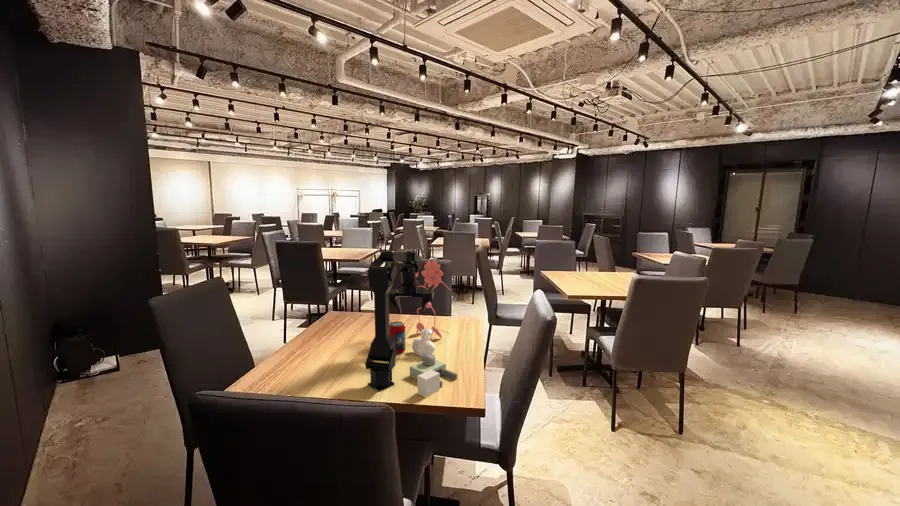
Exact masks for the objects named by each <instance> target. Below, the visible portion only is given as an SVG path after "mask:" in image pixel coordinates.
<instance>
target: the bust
mask: <svg viewBox="0 0 900 506" xmlns="http://www.w3.org/2000/svg"><path fill="white" fill-rule="evenodd" d="M432 331H433V329H432V328H429V329H424V330H422V329H421V332H419V335H420V337H416V338H414V339H413V341H412V344H411V348H412V351H413V352H414V353H415V354H416V356H419V357H421V358H423V355H425V354H433V353H434V352H435V350H436V346H435V344H434V342H433V341H430V337H433V335H432Z"/></svg>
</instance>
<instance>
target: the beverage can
mask: <svg viewBox="0 0 900 506" xmlns="http://www.w3.org/2000/svg"><path fill="white" fill-rule="evenodd" d="M389 323H390V335H391V337H394V338H395V347H396V355H400V354H402V353H404V352H405V351H406V326H405V324H404V322H403V321H398V320H397V321H393V322H389Z"/></svg>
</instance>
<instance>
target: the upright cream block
mask: <svg viewBox="0 0 900 506" xmlns="http://www.w3.org/2000/svg"><path fill="white" fill-rule="evenodd" d="M440 380H441V376H440V373H438V372H436V371H433V370H429V371H427V372H425V373H422V374H420V375H418V379H417V394H418V393H419V394H418V395H420V394H421V396H422V395H424V396H426V397H427V396H429V395H431V394H433V393H434V394H436V393H438V392H439V390H441V388H440ZM435 392H436V393H435ZM434 394H433V395H434ZM424 396H423V397H424ZM431 396H432V395H431ZM426 397H425V398H426ZM429 397H430V396H429ZM427 398H428V397H427Z"/></svg>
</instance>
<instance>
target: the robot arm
mask: <svg viewBox="0 0 900 506" xmlns="http://www.w3.org/2000/svg"><path fill="white" fill-rule="evenodd" d="M384 263H391V264H392V267H391V266H383V265H384ZM397 263H398V264H403V265H401V267H400V268H399V273H400V278H401V287H402V291H399V289H397V288H393V286H394V283H395V281H394V280H395V279H396V275H397V274H398V268H397ZM422 267H423V261H422V259H421V258H420V256H419V255H418V253H417V251H416V249H415V248H398V249H396V250H395V251H394V250H383V251H382V250H381V252H380V254H379V255H378V257H377V258H375V259H374V260H373V261H371V264H370V265H369V268H368V270H367V273H366V276H367V281H368V287H369V288H370V289H371V291H372V293H373V299H374V301H373V302H374V338H373V339H372V341H371V342H370V346H369V347H370V348H369V351H368V352H367V353H368V354H367V357H366V361H365V364H364V366H365V369H366V370H370V372H369V373H370V382H368V383H367V386H369V387H370V388H372V389H374V390H376V391H377V392H381V391H383V390H385V389H388V388H389V387H392V386H394V385H395V382H394V381H393V369H394V367H396V360H397V359H396V358H397V354H396V347H395V338H394V337H391V335H390V323H391V322H390V303H391V304H392V305H393V306H394V307H395V308H396V310H397V311H398V314H399V315H402V312H403V311H402V306H401V305H402V304H401V300H400V299H401V298H422V300H421V307H422V308H421V314H422V315H424V312H425V309H426V303H429V302H430V303H431V302H432V301H433V300H434V297H435V292H434V290H432V289H433V288H428V289H426V288H423V291H422V292H421V291H420V292H418V291H419V288H420V287H419V286H420V281H419V280H417V277H416V273H417V272H418V273H419V271H420V269H421V268H422Z"/></svg>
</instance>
